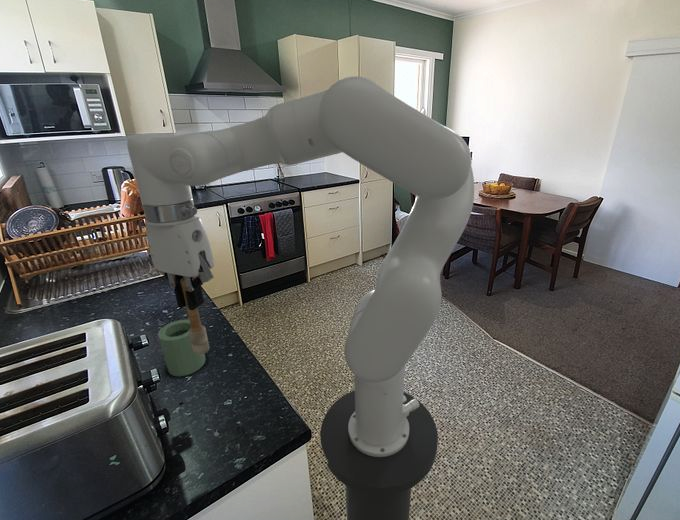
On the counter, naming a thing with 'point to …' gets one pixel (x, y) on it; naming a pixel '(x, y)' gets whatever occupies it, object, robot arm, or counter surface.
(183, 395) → the counter surface
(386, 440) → the robot arm
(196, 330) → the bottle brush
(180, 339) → the jar
